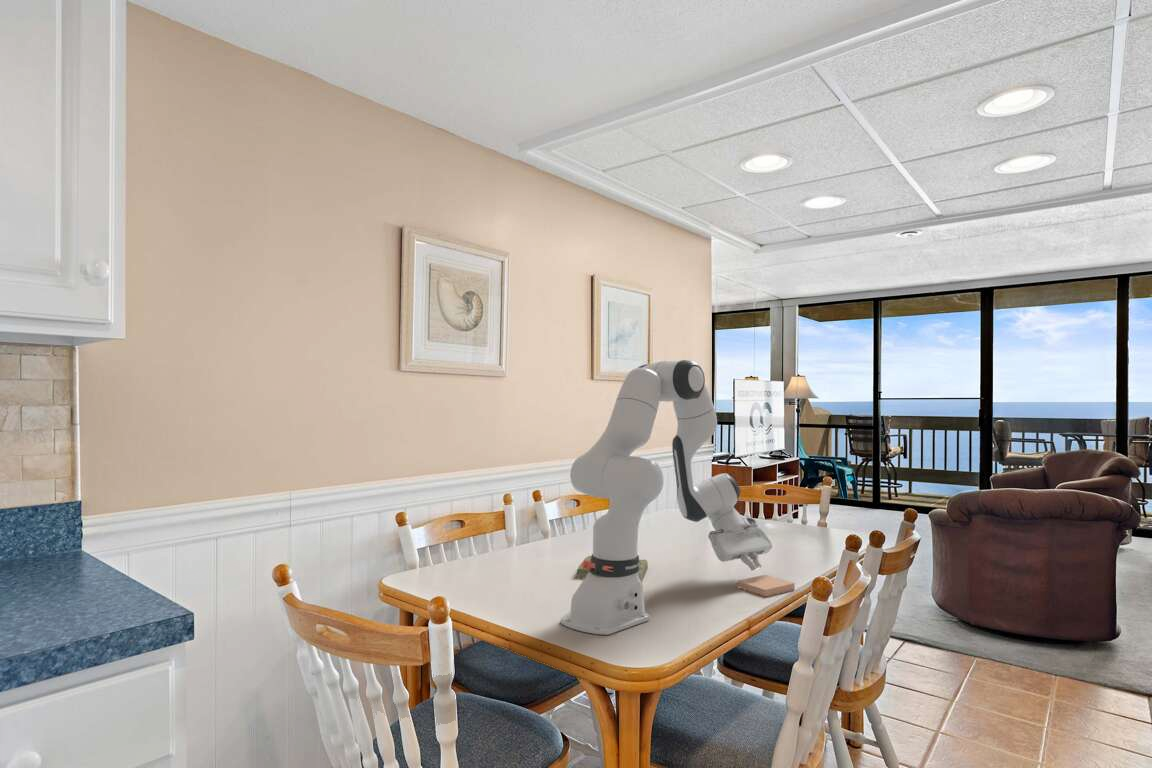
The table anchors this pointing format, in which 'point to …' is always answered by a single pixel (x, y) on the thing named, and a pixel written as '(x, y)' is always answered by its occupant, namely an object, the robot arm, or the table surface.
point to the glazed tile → (766, 585)
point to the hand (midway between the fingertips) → (756, 568)
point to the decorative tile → (583, 572)
